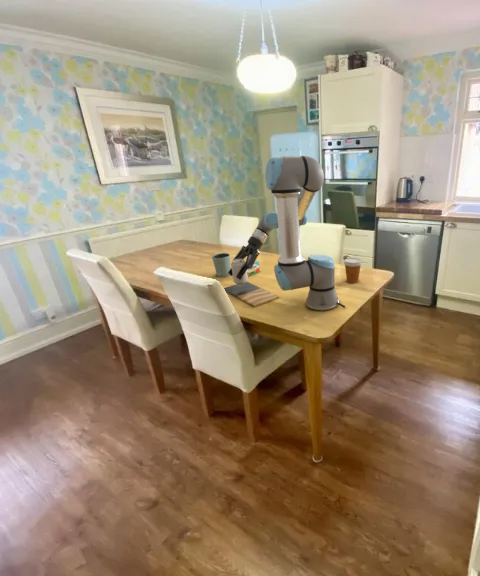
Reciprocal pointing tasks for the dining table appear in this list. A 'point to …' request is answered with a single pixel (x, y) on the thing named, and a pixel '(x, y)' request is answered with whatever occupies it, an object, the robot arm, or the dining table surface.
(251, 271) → the colorful food box
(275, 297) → the board
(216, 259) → the grey cylindrical pot
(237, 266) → the can
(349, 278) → the disposable coffee cup
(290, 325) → the dining table surface
